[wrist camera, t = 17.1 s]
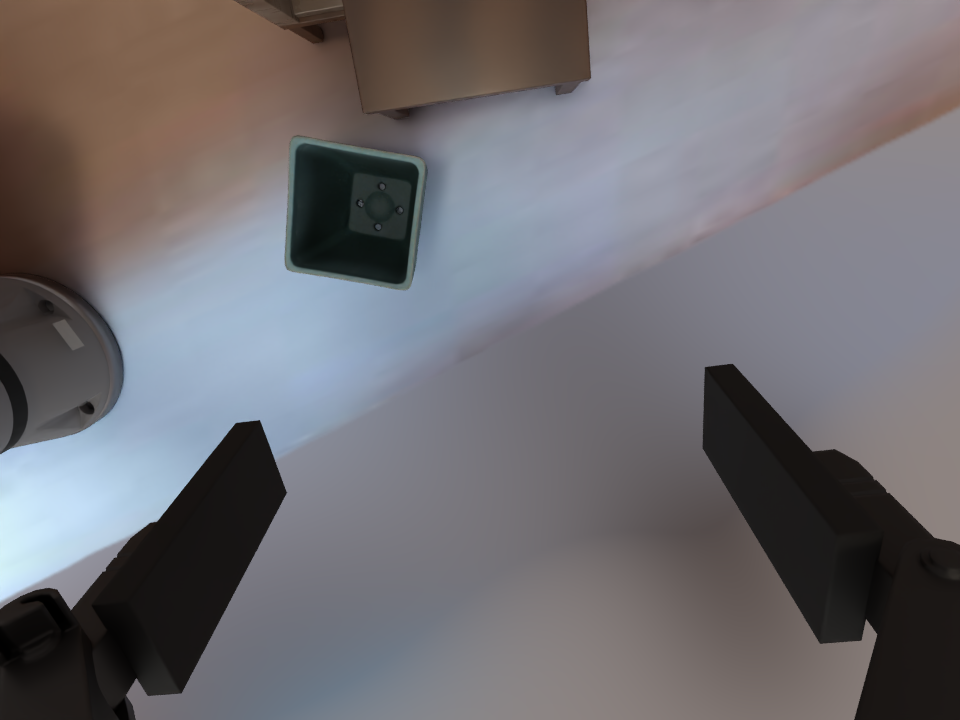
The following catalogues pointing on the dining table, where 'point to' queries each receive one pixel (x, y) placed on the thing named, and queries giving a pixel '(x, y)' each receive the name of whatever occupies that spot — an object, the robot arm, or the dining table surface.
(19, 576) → the dining table surface
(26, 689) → the robot arm
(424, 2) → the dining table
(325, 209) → the flower pot
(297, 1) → the taupe chair
